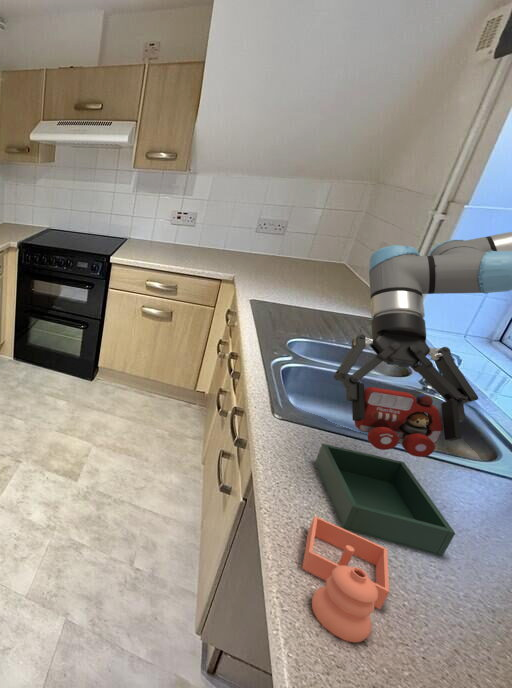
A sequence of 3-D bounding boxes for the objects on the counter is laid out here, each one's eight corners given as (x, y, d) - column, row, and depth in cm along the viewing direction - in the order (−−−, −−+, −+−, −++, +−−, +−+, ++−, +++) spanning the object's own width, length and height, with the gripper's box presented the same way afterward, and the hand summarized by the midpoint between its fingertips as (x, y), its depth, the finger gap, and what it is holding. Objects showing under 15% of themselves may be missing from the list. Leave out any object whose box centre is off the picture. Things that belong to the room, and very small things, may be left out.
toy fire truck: (443, 462, 71) (469, 412, 68) (357, 446, 75) (377, 397, 71) (420, 437, 77) (442, 390, 74) (341, 423, 81) (359, 377, 77)
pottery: (307, 533, 72) (324, 490, 69) (378, 567, 67) (400, 522, 63) (293, 615, 59) (313, 567, 56) (379, 666, 54) (408, 616, 50)
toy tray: (393, 484, 84) (404, 461, 82) (441, 558, 68) (455, 533, 66) (313, 465, 88) (322, 443, 86) (342, 530, 73) (352, 505, 71)
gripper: (466, 338, 79) (481, 451, 71) (314, 316, 88) (312, 415, 80) (497, 322, 73) (517, 445, 65) (329, 301, 81) (329, 407, 74)
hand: (404, 429), depth 72 cm, fingers closed on toy fire truck, 12 cm apart
